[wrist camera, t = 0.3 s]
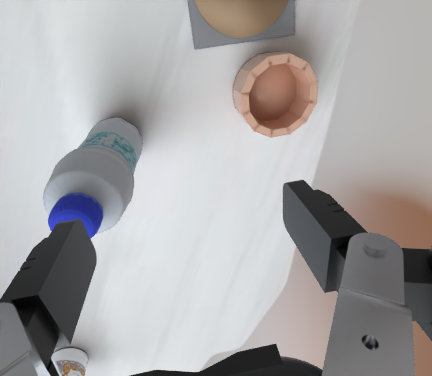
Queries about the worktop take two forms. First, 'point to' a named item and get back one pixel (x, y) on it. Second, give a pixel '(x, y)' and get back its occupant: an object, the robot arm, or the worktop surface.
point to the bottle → (95, 178)
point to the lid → (240, 15)
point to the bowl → (275, 93)
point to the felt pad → (210, 37)
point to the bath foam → (71, 361)
